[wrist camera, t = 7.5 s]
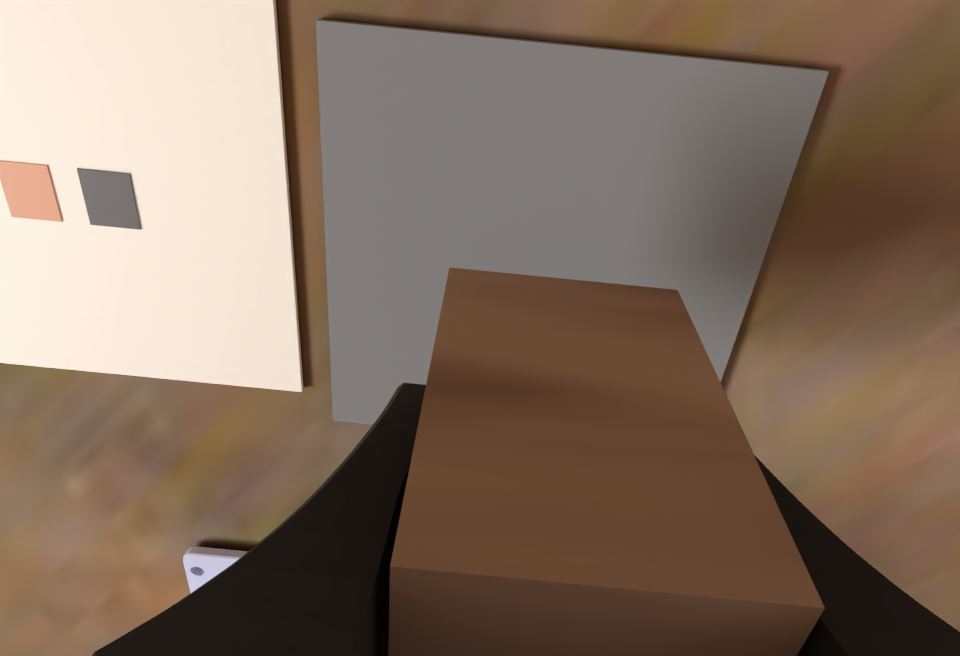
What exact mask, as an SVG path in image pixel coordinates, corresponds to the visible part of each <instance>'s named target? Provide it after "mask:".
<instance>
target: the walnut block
mask: <svg viewBox="0 0 960 656" xmlns="http://www.w3.org/2000/svg"><path fill="white" fill-rule="evenodd" d="M824 609H825V607H824V605H823V603H822V601H821V598H820V596H819V594H818V592H817V590H816V588H815V586H814V583H813V581H812V579H811V577H810V575H809V573H808V570H807V568H806V566H805V564H804V562H803V560H802V557H801V555H800V553H799V551H798V549H797V547H796V544H795V542H794V540H793V538H792V536H791V534H790V532H789V529H788V527H787V525H786V523H785V521H784V519H783V516H782V514H781V512H780V510H779V508H778V506H777V503H776V501H775V499H774V497H773V495H772V493H771V491H770V488H769V486H768V484H767V482H766V480H765V478H764V475H763V473H762V471H761V469H760V467H759V465H758V462H757V460H756V458H755V456H754V454H753V452H752V449H751V447H750V445H749V443H748V441H747V439H746V437H745V434H744V432H743V430H742V428H741V426H740V424H739V421H738V419H737V417H736V415H735V413H734V411H733V408H732V406H731V404H730V402H729V400H728V398H727V395H726V393H725V391H724V389H723V387H722V385H721V383H720V380H719V378H718V376H717V374H716V372H715V370H714V367H713V365H712V363H711V361H710V359H709V357H708V354H707V352H706V350H705V348H704V346H703V344H702V341H701V339H700V337H699V335H698V333H697V331H696V329H695V326H694V324H693V322H692V320H691V318H690V316H689V313H688V311H687V309H686V307H685V305H684V303H683V300H682V298H681V296H680V294H679V292H678V290H674V289H664V288H654V287H643V286H633V285H623V284H613V283H603V282H593V281H583V280H573V279H562V278H552V277H542V276H532V275H522V274H512V273H502V272H492V271H481V270H471V269H461V268H451V267H449V272H448V277H447V282H446V287H445V292H444V297H443V302H442V307H441V312H440V317H439V322H438V327H437V333H436V338H435V343H434V348H433V353H432V358H431V363H430V368H429V373H428V378H427V383H426V388H425V393H424V398H423V403H422V408H421V413H420V418H419V423H418V428H417V433H416V438H415V443H414V448H413V453H412V458H411V463H410V468H409V473H408V479H407V484H406V489H405V494H404V499H403V504H402V509H401V514H400V519H399V524H398V529H397V534H396V539H395V544H394V549H393V554H392V559H391V564H390V595H389V645H388V656H797V654H798V653H799V651H800V649H801V648H802V646H803V644H804V643H805V641H806V639H807V638H808V636H809V634H810V632H811V631H812V629H813V627H814V626H815V624H816V622H817V621H818V619H819V617H820V616H821V614H822V612H823V610H824Z"/></svg>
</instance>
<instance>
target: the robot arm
mask: <svg viewBox="0 0 960 656" xmlns="http://www.w3.org/2000/svg"><path fill="white" fill-rule="evenodd" d="M425 388H426V385H423V384H413V383H403V384H401V385H400V386H398V387H397V389H396V391H395V393H394V395H393V396H392V398H391V399H390V401H389V403H388V404H387V406H386V407H385V409H384V410H383V412H382V413H381V414H380V416H379V417H378V419H377V420H376V421H375V423H374V424H373V426H372V427H371V428H370V430H369V431H368V432H367V433H366V435H365V436H364V437H363V438H362V440H361V441H360V442H359V443H358V445H357V446H356V447H355V448H354V450H353V451H352V452H351V453H350V455H349V456H348V457H347V458H346V459H345V460H344V461H343V463H342V464H341V465H340V466H339V467H338V468H337V469H336V470H335V471H334V472H333V474H332V475H331V476H330V477H329V478H328V479H327V480H326V481H325V482H324V483H323V485H322V486H321V487H320V488H319V489H318V490H317V491H316V492H315V493H314V494H313V495H312V496H311V497H310V498H309V499H308V500H307V501H306V502H305V503H304V504H303V505H302V506H301V507H299V508H298V509H297V510H296V511H295V512H294V513H293V514H292V515H291V516H290V517H289V518H288V519H286V520H285V521H284V522H283V523H282V524H281V525H280V526H279V527H277V528H276V529H275V530H274V531H273V532H271V533H270V534H269V535H268V536H267V537H265V538H264V539H263V540H262V541H261V542H259V543H258V544H257V545H256V546H255V547H253V548H252V549H251V550H250V551H239V550H228V549H218V548H208V547H191V548H189V549H188V550H187V551H186V553H185V555H184V557H183V563H184V567H185V571H186V575H187V580H188V584H189V588H190V593H191V594H189V595H188V596H186V597H185V598H183V599H182V600H181V601H179V602H177V603H176V604H174V605H173V606H171V607H170V608H168V609H167V610H165V611H163V612H162V613H160V614H158V615H157V616H155V617H153V618H152V619H150V620H148V621H147V622H145V623H143V624H142V625H140V626H138V627H137V628H135V629H133V630H132V631H130V632H128V633H127V634H125V635H123V636H122V637H120V638H118V639H117V640H115V641H113V642H112V643H110V644H108V645H106V646H104V647H103V648H101V649H99V650H97V651H95V652H94V654H93V655H92V656H388V645H389V595H390V564H391V559H392V554H393V549H394V544H395V539H396V534H397V529H398V524H399V519H400V514H401V509H402V504H403V499H404V494H405V489H406V484H407V479H408V473H409V468H410V463H411V458H412V453H413V448H414V443H415V438H416V433H417V428H418V423H419V418H420V413H421V408H422V403H423V398H424V393H425ZM754 456H755V455H754ZM755 458H756V460H757V462H758V465H759V467H760V469H761V471H762V473H763V475H764V478H765V480H766V482H767V484H768V486H769V488H770V491H771V493H772V495H773V497H774V499H775V501H776V503H777V506H778V508H779V510H780V512H781V514H782V516H783V519H784V521H785V523H786V525H787V527H788V529H789V532H790V534H791V536H792V538H793V540H794V542H795V544H796V547H797V549H798V551H799V553H800V555H801V557H802V560H803V562H804V564H805V566H806V568H807V570H808V573H809V575H810V577H811V579H812V581H813V583H814V586H815V588H816V590H817V592H818V594H819V596H820V598H821V601H822V603H823V605H824V607H825V609H824V610H823V612H822V614H821V616H820V617H819V619H818V621H817V622H816V624H815V626H814V627H813V629H812V631H811V632H810V634H809V636H808V638H807V639H806V641H805V643H804V644H803V646H802V648H801V649H800V651H799V653H798V654H797V656H960V632H959V631H957V630H956V629H954V628H953V627H952V626H950V625H949V624H947V623H946V622H945V621H943V620H942V619H940V618H939V617H938V616H936V615H935V614H933V613H932V612H931V611H929V610H928V609H926V608H925V607H924V606H922V605H921V604H919V603H918V602H917V601H915V600H914V599H913V598H911V597H910V596H909V595H907V594H906V593H905V592H903V591H902V590H901V589H900V588H898V587H897V586H896V585H894V584H893V583H892V582H891V581H889V580H888V579H887V578H886V577H885V576H883V575H882V574H881V573H880V572H878V571H877V570H876V569H875V568H873V567H872V566H871V565H870V564H868V563H867V562H866V561H865V560H864V559H862V558H861V557H860V556H859V555H858V554H856V553H855V552H854V551H853V550H852V549H851V548H849V547H848V546H847V545H846V544H845V543H844V542H843V541H841V540H840V539H839V538H838V537H837V536H836V535H835V534H834V533H833V532H832V531H830V530H829V529H828V528H827V527H826V526H825V525H824V524H823V523H822V522H821V521H820V520H819V519H817V518H816V517H815V516H814V515H813V514H812V513H811V512H810V511H809V510H808V509H807V508H806V507H805V506H804V505H803V504H802V503H801V502H800V501H799V500H798V499H797V498H796V497H795V496H794V495H793V494H792V493H791V492H790V491H789V490H788V489H787V488H786V487H785V486H784V485H783V484H782V483H781V482H780V481H779V480H778V479H777V478H776V477H775V476H774V475H773V474H772V473H771V472H770V471H769V470H768V469H767V468H766V467H765V466H764V465H763V464H762V463H761V462H760V460H759V459H758V458H757V457H756V456H755Z"/></svg>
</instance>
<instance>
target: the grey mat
mask: <svg viewBox="0 0 960 656" xmlns="http://www.w3.org/2000/svg"><path fill="white" fill-rule="evenodd" d="M316 37H317V60H318V84H319V107H320V130H321V154H322V177H323V200H324V224H325V247H326V270H327V294H328V317H329V341H330V364H331V387H332V411H333V421H339V422H349V423H359V424H370V425H373V424H374V423H375V421H376V420H377V419H378V417H379V416H380V414H381V413H382V412H383V410H384V409H385V407H386V406H387V404H388V403H389V401H390V399H391V398H392V396H393V395H394V393H395V391H396V389H397V387H398V386H400V385H401V384H403V383H413V384H423V385H426V383H427V378H428V373H429V368H430V363H431V358H432V353H433V348H434V343H435V338H436V333H437V327H438V322H439V317H440V312H441V307H442V302H443V297H444V292H445V287H446V282H447V277H448V272H449V267H451V268H461V269H471V270H481V271H492V272H502V273H512V274H522V275H532V276H542V277H552V278H562V279H573V280H583V281H593V282H603V283H613V284H623V285H633V286H643V287H654V288H664V289H674V290H678V292H679V294H680V296H681V298H682V300H683V303H684V305H685V307H686V309H687V311H688V313H689V316H690V318H691V320H692V322H693V324H694V326H695V329H696V331H697V333H698V335H699V337H700V339H701V341H702V344H703V346H704V348H705V350H706V352H707V354H708V357H709V359H710V361H711V363H712V365H713V367H714V370H715V372H716V374H717V376H718V378H719V380H720V383H721V380H722V377H723V374H724V371H725V368H726V365H727V363H728V360H729V357H730V354H731V351H732V348H733V345H734V343H735V340H736V337H737V334H738V331H739V328H740V325H741V323H742V320H743V317H744V314H745V311H746V308H747V305H748V302H749V300H750V297H751V294H752V291H753V288H754V285H755V282H756V280H757V277H758V274H759V271H760V268H761V265H762V262H763V260H764V257H765V254H766V251H767V248H768V245H769V242H770V240H771V237H772V234H773V231H774V228H775V225H776V222H777V219H778V217H779V214H780V211H781V208H782V205H783V202H784V199H785V197H786V194H787V191H788V188H789V185H790V182H791V179H792V177H793V174H794V171H795V168H796V165H797V162H798V159H799V156H800V154H801V151H802V148H803V145H804V142H805V139H806V136H807V134H808V131H809V128H810V125H811V122H812V119H813V116H814V114H815V111H816V108H817V105H818V102H819V99H820V96H821V93H822V91H823V88H824V85H825V82H826V79H827V76H828V73H829V71H826V70H824V69H814V68H804V67H794V66H784V65H774V64H764V63H754V62H744V61H734V60H724V59H714V58H704V57H695V56H685V55H675V54H665V53H655V52H645V51H635V50H625V49H615V48H605V47H595V46H585V45H575V44H565V43H555V42H545V41H535V40H525V39H515V38H505V37H495V36H485V35H476V34H466V33H456V32H446V31H436V30H426V29H416V28H406V27H396V26H386V25H376V24H366V23H356V22H346V21H336V20H326V19H317V20H316Z"/></svg>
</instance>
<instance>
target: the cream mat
mask: <svg viewBox="0 0 960 656" xmlns="http://www.w3.org/2000/svg"><path fill="white" fill-rule="evenodd" d="M0 363H8V364H18V365H29V366H39V367H49V368H60V369H70V370H80V371H91V372H101V373H111V374H122V375H132V376H142V377H153V378H163V379H173V380H183V381H194V382H204V383H214V384H225V385H235V386H245V387H256V388H266V389H276V390H287V391H297V392H302V390H303V374H302V360H301V346H300V332H299V318H298V304H297V290H296V276H295V262H294V248H293V234H292V220H291V206H290V192H289V178H288V164H287V150H286V136H285V122H284V108H283V94H282V80H281V66H280V52H279V37H278V23H277V9H276V0H0Z"/></svg>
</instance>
